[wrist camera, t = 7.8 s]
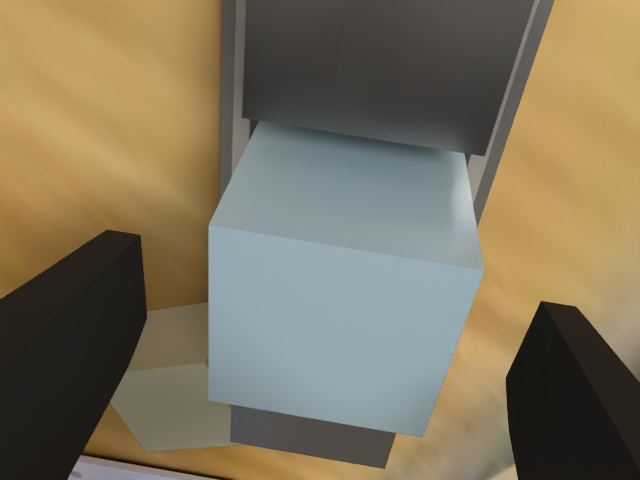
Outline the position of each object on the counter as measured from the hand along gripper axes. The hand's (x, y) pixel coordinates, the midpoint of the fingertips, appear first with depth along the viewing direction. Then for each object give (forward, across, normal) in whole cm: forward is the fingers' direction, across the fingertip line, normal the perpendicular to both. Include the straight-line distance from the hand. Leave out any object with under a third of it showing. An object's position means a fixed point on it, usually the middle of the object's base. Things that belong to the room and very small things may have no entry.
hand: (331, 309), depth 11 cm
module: (+5, 0, 0) cm, 5 cm away
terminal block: (+7, +4, +9) cm, 12 cm away
